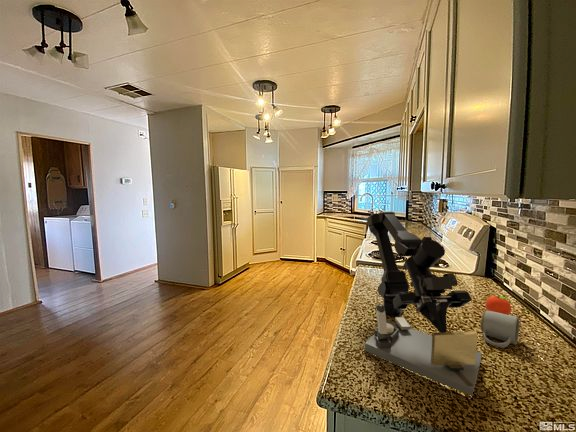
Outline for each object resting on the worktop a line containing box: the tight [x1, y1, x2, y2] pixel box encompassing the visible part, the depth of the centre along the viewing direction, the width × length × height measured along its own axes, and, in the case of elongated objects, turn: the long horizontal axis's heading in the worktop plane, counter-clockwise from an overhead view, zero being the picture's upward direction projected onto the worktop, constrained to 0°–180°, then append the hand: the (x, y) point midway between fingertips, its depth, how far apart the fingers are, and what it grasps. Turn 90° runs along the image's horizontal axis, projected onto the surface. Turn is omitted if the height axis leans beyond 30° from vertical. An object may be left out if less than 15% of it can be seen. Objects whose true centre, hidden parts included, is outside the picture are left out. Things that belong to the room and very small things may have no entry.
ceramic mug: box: [480, 310, 520, 349], centre depth 73 cm, size 11×8×8 cm
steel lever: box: [375, 304, 390, 340], centre depth 68 cm, size 2×3×9 cm
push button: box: [387, 323, 394, 335], centre depth 72 cm, size 4×4×2 cm
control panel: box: [364, 320, 482, 397], centre depth 66 cm, size 16×24×4 cm
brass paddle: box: [431, 331, 478, 371], centre depth 58 cm, size 3×10×8 cm, turn 92°
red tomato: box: [485, 295, 512, 315], centre depth 87 cm, size 8×7×7 cm
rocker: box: [394, 316, 412, 330], centre depth 75 cm, size 4×3×1 cm, turn 2°
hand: (444, 334), depth 62 cm, fingers closed
